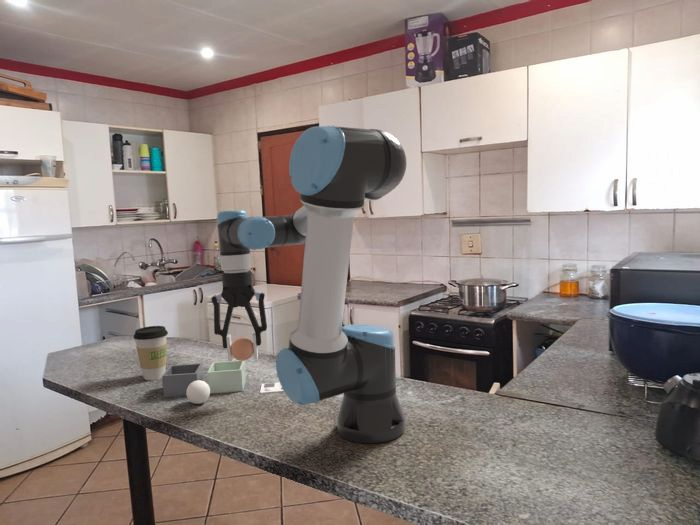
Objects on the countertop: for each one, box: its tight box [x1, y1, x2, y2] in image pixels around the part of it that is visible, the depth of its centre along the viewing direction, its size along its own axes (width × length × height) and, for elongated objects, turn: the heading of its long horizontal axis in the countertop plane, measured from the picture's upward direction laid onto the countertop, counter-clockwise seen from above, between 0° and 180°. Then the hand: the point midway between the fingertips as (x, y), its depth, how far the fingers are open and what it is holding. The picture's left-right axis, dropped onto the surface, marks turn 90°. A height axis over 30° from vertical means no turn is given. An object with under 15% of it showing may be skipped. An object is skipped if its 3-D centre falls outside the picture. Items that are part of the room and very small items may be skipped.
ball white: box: [186, 380, 210, 405], centre depth 132 cm, size 6×6×6 cm
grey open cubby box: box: [161, 362, 205, 398], centre depth 142 cm, size 9×9×6 cm
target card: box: [259, 381, 284, 394], centre depth 141 cm, size 7×9×1 cm
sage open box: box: [206, 360, 247, 394], centre depth 144 cm, size 9×9×6 cm
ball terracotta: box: [231, 336, 254, 361], centre depth 132 cm, size 6×6×6 cm
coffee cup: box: [133, 325, 169, 381], centre depth 154 cm, size 10×10×15 cm
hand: (243, 358), depth 132 cm, fingers closed on ball terracotta, 6 cm apart
